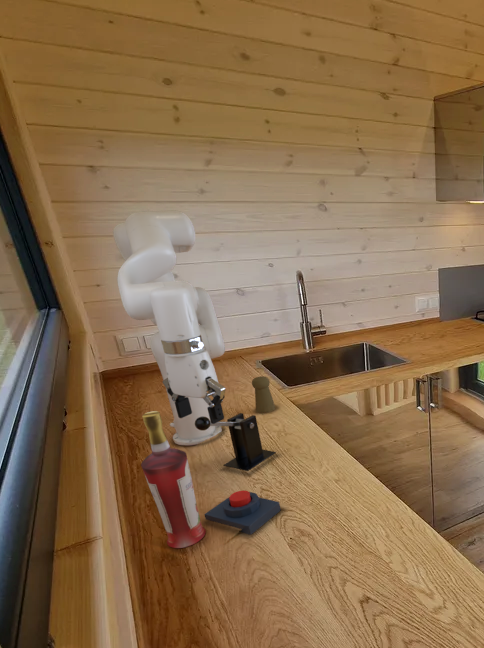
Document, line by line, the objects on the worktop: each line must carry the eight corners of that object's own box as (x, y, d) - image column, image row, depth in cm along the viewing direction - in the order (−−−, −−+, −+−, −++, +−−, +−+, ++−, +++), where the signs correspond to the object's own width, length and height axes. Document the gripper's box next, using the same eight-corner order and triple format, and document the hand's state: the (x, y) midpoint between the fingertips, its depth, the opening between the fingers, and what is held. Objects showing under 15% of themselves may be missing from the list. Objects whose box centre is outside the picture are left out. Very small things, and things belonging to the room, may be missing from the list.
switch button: (226, 505, 102) (224, 498, 102) (240, 495, 106) (239, 488, 105) (241, 509, 101) (239, 502, 100) (255, 499, 105) (253, 492, 104)
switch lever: (201, 431, 109) (203, 417, 109) (190, 429, 110) (192, 415, 110) (251, 431, 123) (252, 418, 123) (241, 429, 124) (242, 417, 124)
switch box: (206, 522, 103) (202, 507, 102) (238, 499, 111) (235, 484, 109) (250, 535, 99) (247, 518, 97) (281, 510, 107) (278, 495, 105)
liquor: (169, 535, 99) (130, 410, 88) (209, 526, 102) (176, 403, 91) (165, 558, 93) (122, 426, 82) (207, 547, 96) (171, 418, 85)
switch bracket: (248, 474, 121) (238, 428, 116) (224, 469, 124) (213, 423, 119) (276, 455, 130) (268, 412, 125) (252, 451, 132) (243, 408, 127)
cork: (269, 413, 155) (262, 381, 151) (252, 412, 156) (245, 380, 152) (279, 406, 161) (273, 374, 156) (262, 405, 162) (256, 373, 158)
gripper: (228, 343, 104) (243, 416, 111) (169, 338, 110) (187, 407, 117) (199, 353, 98) (217, 430, 104) (138, 346, 104) (159, 420, 110)
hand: (201, 418), depth 110 cm, fingers open, 9 cm apart
